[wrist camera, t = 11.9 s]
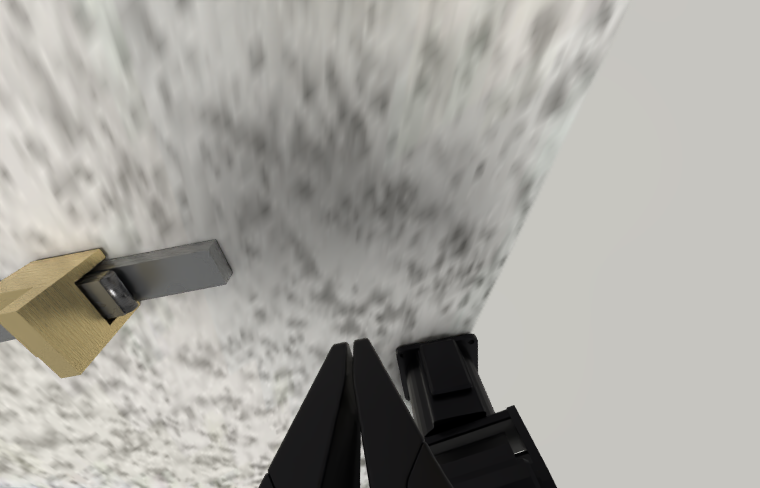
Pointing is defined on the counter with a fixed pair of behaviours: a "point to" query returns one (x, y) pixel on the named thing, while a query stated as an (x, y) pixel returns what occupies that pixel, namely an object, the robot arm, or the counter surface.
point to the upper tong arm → (99, 297)
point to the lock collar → (57, 312)
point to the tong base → (170, 270)
